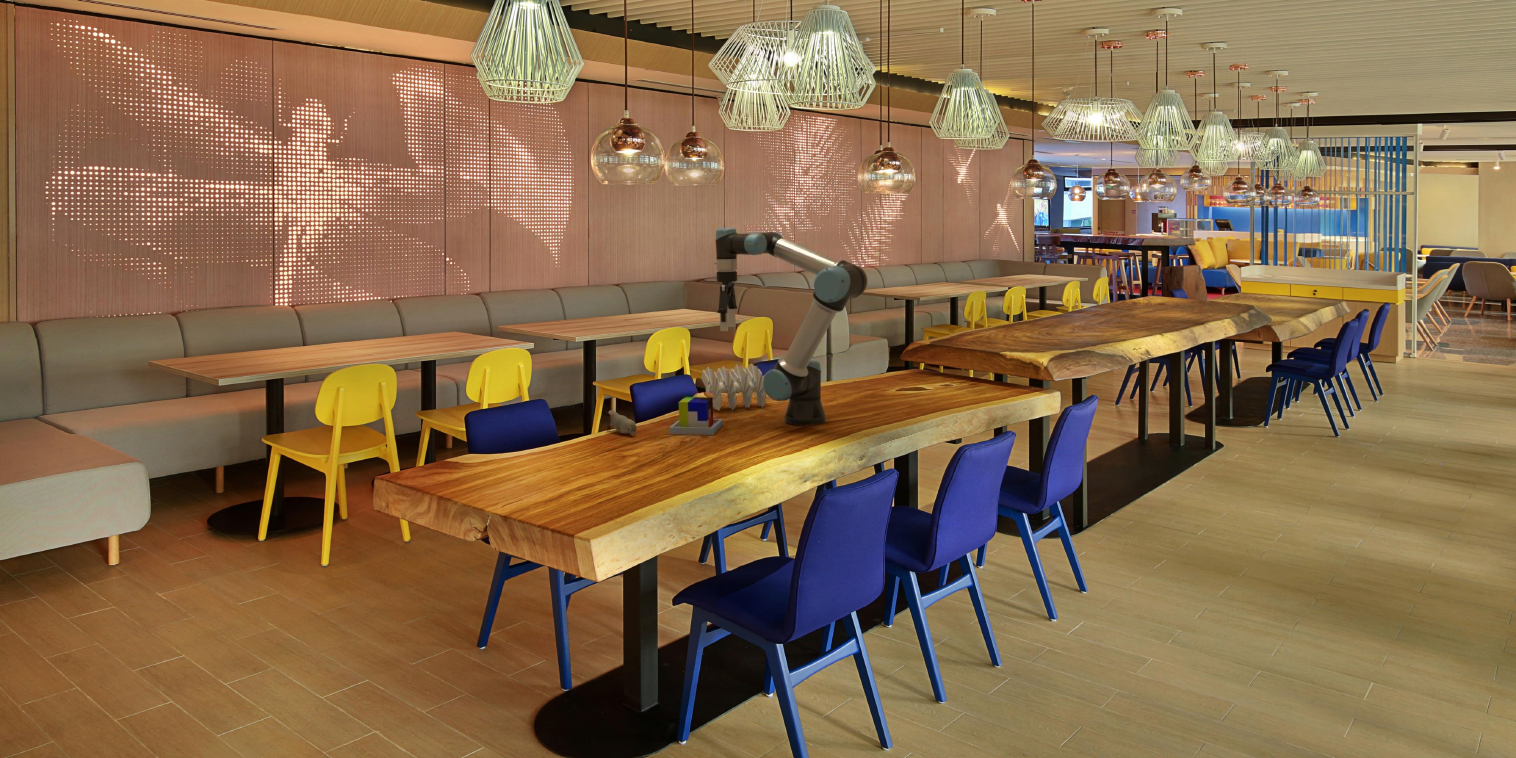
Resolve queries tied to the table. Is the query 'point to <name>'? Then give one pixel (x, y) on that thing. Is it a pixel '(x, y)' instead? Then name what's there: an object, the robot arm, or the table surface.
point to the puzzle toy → (696, 412)
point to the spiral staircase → (734, 385)
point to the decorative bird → (622, 423)
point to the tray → (696, 429)
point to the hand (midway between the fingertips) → (728, 328)
